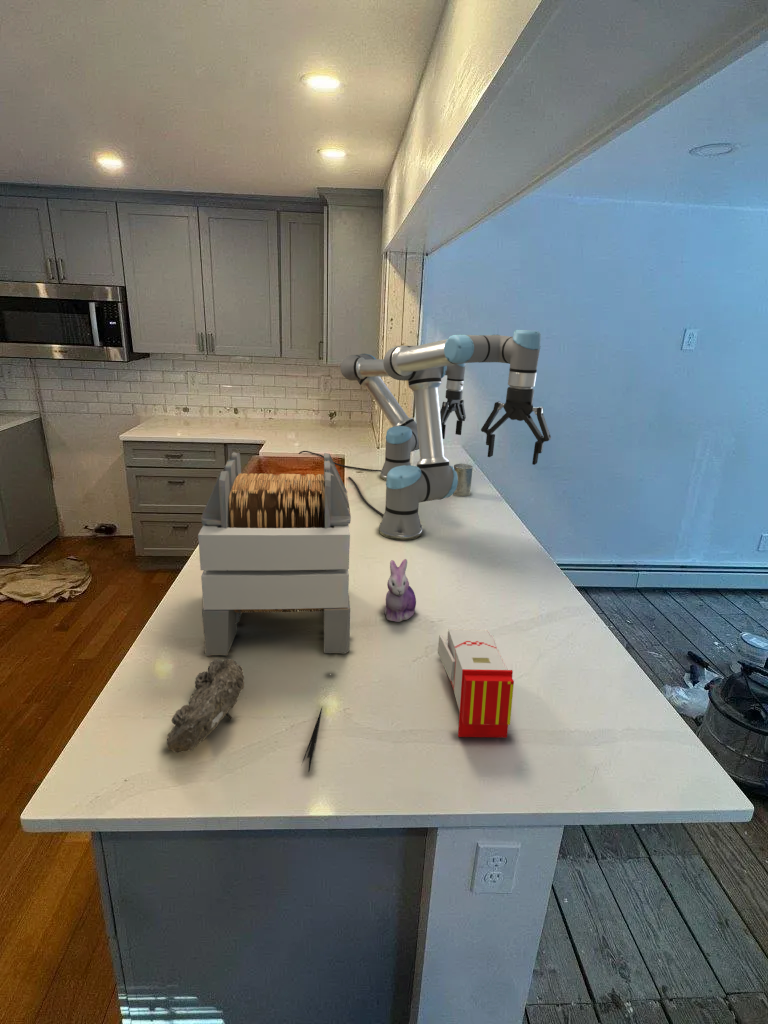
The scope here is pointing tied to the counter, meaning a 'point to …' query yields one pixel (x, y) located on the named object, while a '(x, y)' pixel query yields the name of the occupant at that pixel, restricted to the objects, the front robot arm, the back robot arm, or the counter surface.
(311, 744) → the feather
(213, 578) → the record crate
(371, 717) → the counter surface
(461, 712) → the toy
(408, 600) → the figurine
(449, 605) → the counter surface
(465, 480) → the tin
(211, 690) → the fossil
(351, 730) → the counter surface
